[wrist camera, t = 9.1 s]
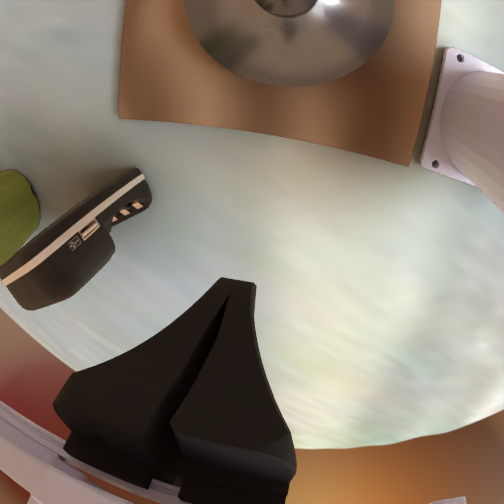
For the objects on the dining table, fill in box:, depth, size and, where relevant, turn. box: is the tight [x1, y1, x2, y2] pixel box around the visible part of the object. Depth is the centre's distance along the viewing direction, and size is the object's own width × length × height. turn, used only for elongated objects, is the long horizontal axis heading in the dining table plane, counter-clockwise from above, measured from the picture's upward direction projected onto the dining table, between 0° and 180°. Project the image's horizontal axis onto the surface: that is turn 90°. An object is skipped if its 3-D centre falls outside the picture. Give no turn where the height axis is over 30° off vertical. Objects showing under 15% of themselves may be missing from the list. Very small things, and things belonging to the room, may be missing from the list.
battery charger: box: [0, 168, 152, 311], centre depth 19 cm, size 7×4×11 cm, turn 116°
